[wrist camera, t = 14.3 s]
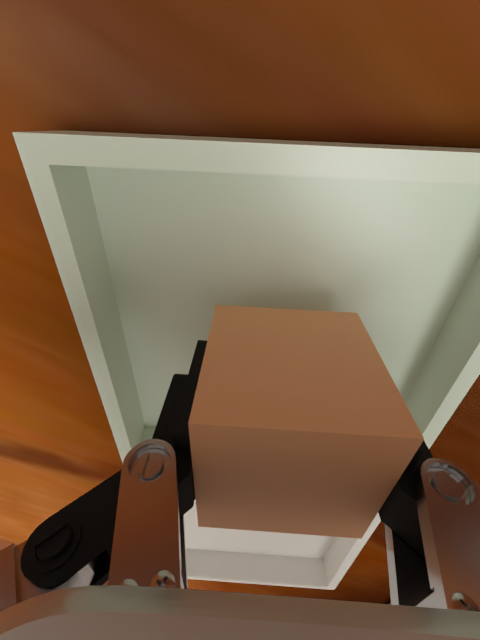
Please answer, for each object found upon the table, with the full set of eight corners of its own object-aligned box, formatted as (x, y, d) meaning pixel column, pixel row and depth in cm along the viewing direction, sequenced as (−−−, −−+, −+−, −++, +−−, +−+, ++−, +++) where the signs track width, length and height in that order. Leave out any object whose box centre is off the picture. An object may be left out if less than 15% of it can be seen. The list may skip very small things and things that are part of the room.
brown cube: (357, 312, 10) (424, 439, 6) (328, 407, 13) (361, 538, 9) (216, 304, 10) (188, 423, 6) (217, 400, 13) (198, 526, 9)
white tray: (375, 464, 19) (390, 506, 17) (328, 554, 27) (334, 590, 25) (144, 448, 19) (130, 488, 17) (167, 542, 27) (160, 576, 25)
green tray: (540, 151, 9) (624, 159, 7) (388, 440, 17) (405, 483, 15) (66, 130, 9) (11, 131, 7) (138, 424, 18) (122, 464, 16)
